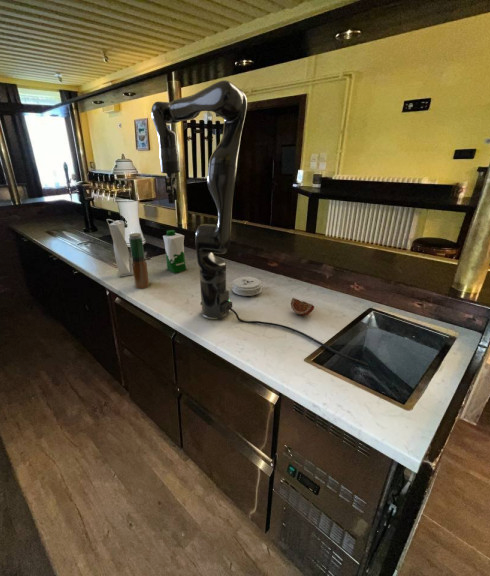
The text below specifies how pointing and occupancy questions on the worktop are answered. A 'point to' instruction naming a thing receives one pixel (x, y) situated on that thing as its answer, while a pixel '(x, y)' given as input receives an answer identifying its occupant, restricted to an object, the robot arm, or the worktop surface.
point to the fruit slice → (301, 307)
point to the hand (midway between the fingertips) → (173, 201)
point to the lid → (247, 286)
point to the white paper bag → (121, 248)
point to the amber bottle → (140, 272)
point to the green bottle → (136, 245)
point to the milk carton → (174, 251)
